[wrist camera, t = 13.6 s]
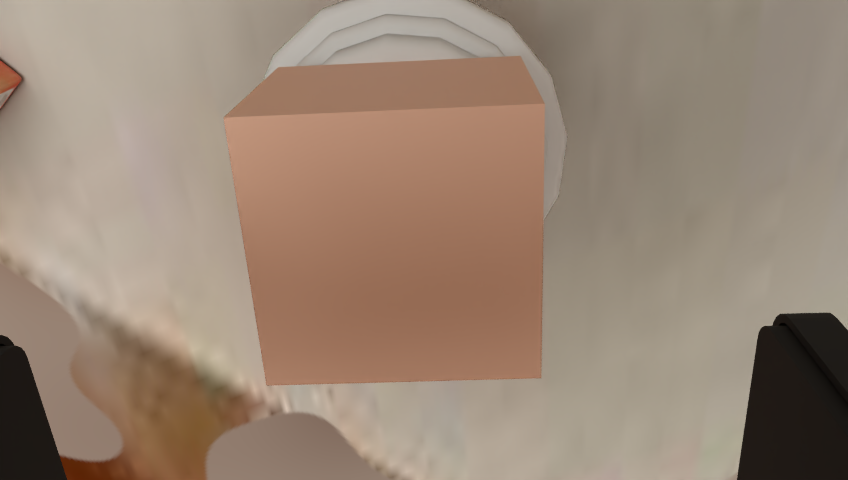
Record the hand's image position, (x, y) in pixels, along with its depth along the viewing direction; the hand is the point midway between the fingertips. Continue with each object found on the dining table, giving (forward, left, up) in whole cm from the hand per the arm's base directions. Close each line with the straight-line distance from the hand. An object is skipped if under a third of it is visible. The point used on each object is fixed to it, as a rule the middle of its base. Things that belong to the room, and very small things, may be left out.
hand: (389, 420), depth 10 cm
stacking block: (0, 0, -11) cm, 11 cm away
